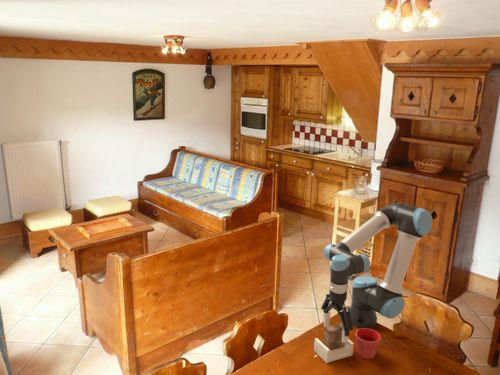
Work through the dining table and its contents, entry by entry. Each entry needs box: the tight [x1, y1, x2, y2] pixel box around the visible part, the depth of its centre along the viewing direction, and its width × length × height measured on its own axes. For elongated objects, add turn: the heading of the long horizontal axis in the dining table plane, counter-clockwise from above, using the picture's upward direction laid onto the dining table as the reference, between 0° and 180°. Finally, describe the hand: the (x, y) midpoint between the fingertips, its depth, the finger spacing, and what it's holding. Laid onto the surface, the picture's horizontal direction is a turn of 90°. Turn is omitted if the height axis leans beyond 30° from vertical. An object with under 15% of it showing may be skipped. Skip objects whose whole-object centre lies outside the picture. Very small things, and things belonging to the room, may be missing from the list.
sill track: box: [313, 337, 355, 364], centre depth 195 cm, size 14×10×6 cm
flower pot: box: [355, 328, 382, 360], centre depth 195 cm, size 11×11×10 cm
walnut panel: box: [322, 322, 345, 351], centre depth 194 cm, size 9×4×12 cm, turn 115°
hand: (335, 333), depth 194 cm, fingers open, 13 cm apart
